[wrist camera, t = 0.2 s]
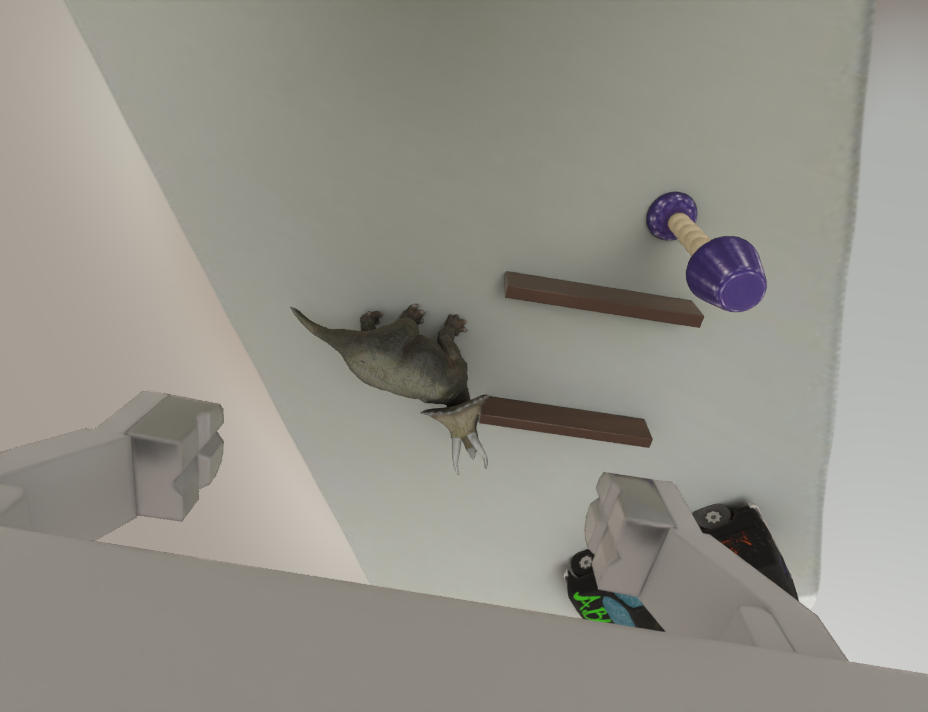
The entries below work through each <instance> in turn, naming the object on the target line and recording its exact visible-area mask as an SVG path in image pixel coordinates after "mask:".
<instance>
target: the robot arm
mask: <svg viewBox="0 0 928 712" xmlns="http://www.w3.org/2000/svg"><path fill="white" fill-rule="evenodd" d="M223 423H224V415H223V408H222V406H221V405H220V404H217V403H212V402H207V401H202V400H196V399H191V398H186V397H181V396H176V395H170V394H166V393H160V392H154V391H142V392H141V393H139V394H138V395H137V396H136V397H134V398H133V399H132V400H131V401H129V402H128V403H127V404H126V405H124V406H123V407H122V408H120V409H119V410H118V411H117V412H116V413H114V414H113V415H112V416H110V417H109V418H108V419H107V420H105V421H104V422H103V423H102V424H100V425H99V426H98V427H97V428H95V429H88V428H85V429H81V430H77V431H74V432H70V433H67V434H63V435H59V436H56V437H52V438H49V439H45V440H41V441H38V442H34V443H31V444H27V445H23V446H20V447H16V448H13V449H9V450H6V451H2V452H0V712H928V674H924V673H917V672H911V671H905V670H899V669H892V668H886V667H880V666H874V665H868V664H860V663H855V662H849V661H848V659H847V658H846V657H845V655H844V654H843V652H842V651H841V649H840V648H839V646H838V645H837V643H836V642H835V640H834V639H833V637H832V636H831V635H830V633H829V632H828V630H827V629H826V627H825V626H824V624H823V623H822V622H821V620H820V618H819V617H818V616H817V615H816V614H815V613H813V612H812V611H811V610H809V609H808V608H807V607H805V606H804V605H803V604H801V603H800V602H799V601H797V600H796V599H795V598H793V597H792V596H791V595H789V594H788V593H787V592H785V591H784V590H783V589H781V588H780V587H779V586H777V585H776V584H775V583H773V582H772V581H771V580H769V579H768V578H767V577H766V576H764V575H763V574H762V573H760V572H759V571H758V570H756V569H755V568H754V567H752V566H751V565H750V564H748V563H747V562H746V561H744V560H743V559H742V558H740V557H739V556H738V555H736V554H735V553H734V552H732V551H731V550H730V549H728V548H727V547H726V546H724V545H723V544H722V543H720V542H719V541H718V540H716V539H715V538H714V537H712V536H711V535H710V534H704V533H702V531H701V529H700V528H699V526H698V524H697V522H696V520H695V519H694V517H693V515H692V513H691V511H690V509H689V508H688V506H687V504H686V502H685V500H684V499H683V497H682V495H681V493H680V491H679V490H678V488H677V486H676V485H675V484H674V483H672V482H669V481H662V480H654V479H645V478H639V477H632V476H626V475H619V474H613V473H606V472H603V474H602V475H601V477H600V478H599V481H598V484H597V486H596V489H597V492H598V495H599V498H598V499H596V500H595V501H594V502H592V503H591V504H590V506H589V509H588V512H587V515H586V522H585V540H586V544H587V548H588V549H589V550H590V551H591V552H592V553H593V554H594V555H595V556H594V559H593V562H592V567H593V571H594V575H595V579H596V583H597V586H598V589H599V590H604V591H609V592H614V593H620V594H625V595H630V596H635V597H639V600H640V601H641V603H642V604H643V605H644V606H645V607H646V609H647V610H648V611H649V612H650V613H651V615H652V616H653V617H654V618H655V619H656V621H657V622H658V623H659V624H660V626H661V627H662V628H663V629H664V630H665V632H661V631H655V630H649V629H643V628H636V627H630V626H624V625H618V624H611V623H605V622H599V621H593V620H586V619H580V618H574V617H567V616H561V615H555V614H549V613H542V612H536V611H530V610H523V609H517V608H511V607H505V606H498V605H492V604H486V603H480V602H473V601H467V600H461V599H454V598H448V597H442V596H436V595H429V594H423V593H417V592H411V591H404V590H398V589H392V588H386V587H379V586H373V585H367V584H360V583H354V582H348V581H342V580H335V579H329V578H322V577H317V576H310V575H304V574H298V573H291V572H285V571H279V570H272V569H267V568H260V567H254V566H248V565H242V564H235V563H229V562H223V561H216V560H210V559H204V558H198V557H192V556H185V555H179V554H173V553H167V552H160V551H154V550H148V549H141V548H135V547H129V546H122V545H116V544H110V543H103V542H98V541H95V540H97V539H99V538H101V537H103V536H104V535H106V534H108V533H110V532H111V531H113V530H115V529H117V528H119V527H121V526H122V525H124V524H126V523H128V522H130V521H131V520H133V519H135V518H136V517H137V516H145V517H152V518H160V519H167V520H175V521H183V520H184V518H185V517H186V516H187V514H188V513H189V512H190V510H191V509H192V508H193V506H194V505H195V504H196V502H197V501H198V500H199V489H201V488H203V487H205V486H207V485H209V484H210V483H211V482H212V480H213V479H214V478H215V476H216V474H217V472H218V469H219V467H220V464H221V462H222V456H223V444H224V441H223V439H222V438H221V437H220V435H219V434H218V432H217V430H218V429H219V428H220V427H221V426H222V424H223Z"/></svg>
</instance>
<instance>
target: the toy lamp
mask: <svg viewBox="0 0 928 712" xmlns="http://www.w3.org/2000/svg"><path fill="white" fill-rule="evenodd" d="M696 220H697V207H696V204H695V202H694V201H693V199H692V198H691V197H690V196H688V195H687V194H685V193H680V192H670V193H666V194H664V195H662V196H660V197H659V198H658V199H657V200H655V201H654V203H653V204H652V205H651V207H650V208H649V211H648V214H647V226H648V229H649V230H650V232H651V233H652V234H653V235H654V236H656V237H657V238H659V239H663V240H676V239H679V242H680V243H681V244H682V245H683V246H684V247H685V249H686V250H687V251H688V252H689V253H690V254H691V256H692V257H691V258H690V260H689V262H688V265H687V269H686V280H687V284H688V286H689V288H690V290H691V291H692V293H693V294H694V295H695V296H697V297H698V298H700V299H702V300H704V301H706V302H708V303H710V304H712V305H714V306H716V307H719V308H721V309H723V310H726V311H729V312H743V311H746V310H749V309H751V308H753V307H754V306H756V305H757V304H758V303H759V302H760V301H761V300H762V298H763V297H764V295H765V292H766V289H767V281H766V276H765V273H764V270H763V267H762V264H761V260H760V257H759V255H758V253H757V251H756V249H755V248H754V247H753V245H752V244H750V243H749V242H748V241H746V240H744V239H742V238H740V237H735V236H723V237H719V238H715V239H712V240H710V239H709V238H708V236H707V235H706V234H705V233H704V232H702V230H701V229H700V228H699V227H698V226H696V224H695V222H696Z"/></svg>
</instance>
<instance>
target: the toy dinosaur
mask: <svg viewBox="0 0 928 712" xmlns="http://www.w3.org/2000/svg"><path fill="white" fill-rule="evenodd" d="M290 308H291V310H292V311H293V313H294V315H295V316H296V317H297V318H298V320H299V321H300V322H301V323H302V324H303V325H304V326H305V327H306V328H307V329H308V330H309V331H310V332H311V333H312V334H314V335H315V336H317V337H319V338H320V339H322V340H324V341H325V342H327V343H328V344H329V345H331V346H332V347H333V348H334V349H336V350H337V351H338V352H339V353H340V354H341V355H342V357H343V358H344V361H346V363H347V365H348V367H349V369H350V370H351V371H352V372H353V373H354V374H355V375H356V376H357V377H358V378H359V379H360V380H361V381H363V382H364V383H366V384H368V385H370V386H373V387H376V388H378V389H380V390H386V391H389V392H391V393H394V394H397V395H401V396H404V397H407V398H413V399H420V400H421V401H423V402H425V403H434V404H444V405H447V407H445V408H433V409H428V410H425V411H423V412H421V414H424V415H429V416H431V417H432V418H434V419H436V420H438V421H440V422H441V423H442V424H444V425H445V426H446V427H447V428H448V429H449V431H450V433H451V438H452V458H453V464H454V468H455V471H456V473H457V475H458V476H459V475H460V474H459V470H458V459H459V454H460V447H461V441H463V443H464V445H465V448H466V450H467V451H468V453H469V455H470V457H471V458H472V460H474V458H475V455H476V452H477V451H478V452H479V453H480V454H481V456H482V457H483V460H484V465H485V469H487V465H488V460H487V456H486V453H485V451H484V448H483V446H482V445H481V443H480V441H479V439H478V433H477V430H476V426H477V422H478V420H479V415H477V414H478V412H479V409H480V407H481V405H482V404H484V403H486V401H485V400H486V399H487V398H488V397H489V395H482V396H480V397H477V398H474V399H472V400H470V395H469V391H468V388H467V380H468V376H467V369H468V368H467V363H466V362H465V361H464V359H463V358H462V356H461V354H460V350H459V348H458V347H457V345H456V344H455V343H454V335H455V336H459V333H460V332H466V331H467V329H466V328H465V327H463V325H464V324H466V320H459V317H458V315H455V316H452V315H449V316H448V319H447V320H446V323H445V327H444V328H443V329H442V330H441V331H440V332H439V334H438V339H437V342H438V343H436V341H433V340H431V339H428V338H427V337H425V336H422V335H418V333H419V330H418V326H417V324H420V323H423V322H424V320H423V319H422V317H423V315H424V314H425V313H426V311H425V310H417V304H413V305H411V306H410V307H409V308H408V309H407V310H405V311H404V312H403V314H402V315H401V317H400V318H399V319H398V320H397V321H396V322H395V323H393V324H390V325H386V326H383V327H380V328H376V327H375V325H379V324H380V322H379V318H381V317H382V316H383V313H381V312H379V311H375V312H370V311H368V313H366V314H364V315H362V316H361V318H360V322H361V330H362V331H356V330H347V329H328V328H326V327H323V326H320V325H319V324H316V323H314V322H312V321H311V320H309V319H308V318H307V317H306V316H304V315H303V314H302V313H301V312H300V311H299V310H297V309H295V308H293V307H290Z"/></svg>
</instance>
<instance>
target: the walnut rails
mask: <svg viewBox="0 0 928 712" xmlns="http://www.w3.org/2000/svg"><path fill="white" fill-rule="evenodd" d="M504 288H505V298H512V299H518V300H524V301H531V302H537V303H544V304H550V305H556V306H563V307H569V308H576V309H582V310H589V311H595V312H601V313H608V314H614V315H621V316H627V317H634V318H640V319H646V320H653V321H659V322H666V323H672V324H678V325H685V326H691V327H698V328H700V326H701V323H702V321H703V319H704V315H703V314H702V313H701V312H700V310H699V309H698V308H697V307H696V305H695V304H694V303H693V302H692V301H691V300H684V299H678V298H672V297H665V296H659V295H653V294H646V293H640V292H634V291H627V290H621V289H615V288H608V287H602V286H596V285H589V284H583V283H577V282H570V281H564V280H558V279H551V278H545V277H539V276H532V275H526V274H520V273H513V272H506V276H505V281H504ZM481 396H482V395H481ZM485 401H486V403H484V404H482V405H481V407H480V409H479V423H482V424H489V425H496V426H503V427H510V428H517V429H524V430H530V431H537V432H544V433H551V434H558V435H565V436H572V437H579V438H586V439H592V440H599V441H606V442H613V443H620V444H627V445H634V446H641V447H648V448H649V447H650V445H651V442H652V440H653V439H652V436H651V434H650V432H649V429H648V427H647V425H646V422H645V420H644V419H640V418H633V417H626V416H619V415H612V414H606V413H599V412H592V411H585V410H579V409H572V408H565V407H558V406H551V405H545V404H538V403H531V402H524V401H518V400H511V399H504V398H497V397H490V396H489V397H488V398H487V399H486V400H485Z"/></svg>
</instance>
